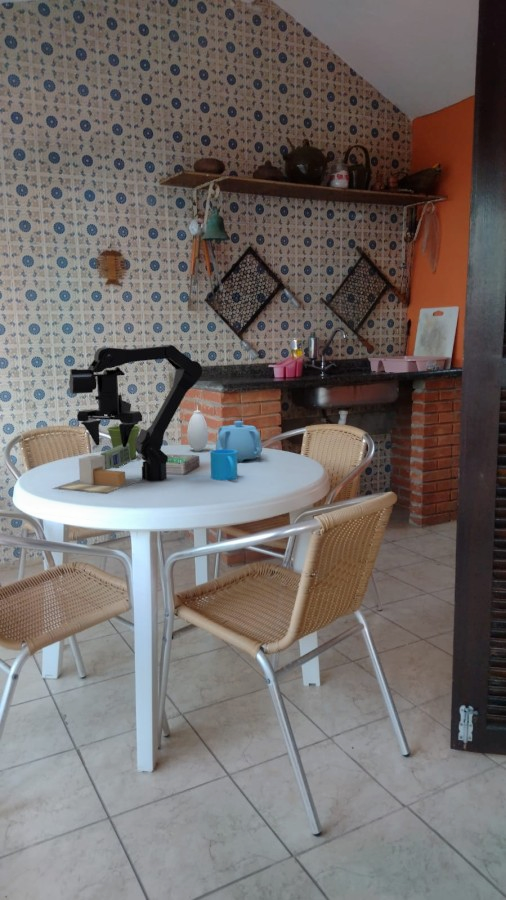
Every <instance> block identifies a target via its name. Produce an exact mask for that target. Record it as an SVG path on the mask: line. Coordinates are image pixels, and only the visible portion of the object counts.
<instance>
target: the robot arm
mask: <svg viewBox="0 0 506 900" xmlns="http://www.w3.org/2000/svg"><path fill="white" fill-rule="evenodd" d="M93 358H94V359H93V361H92V362H91V364H90V365H89V366H88V367H87V369H85V368H84V369H80V368H79V369H78V368H77V369H76V368H71V369H70V370H69V371H70V373H69V380H68V386H69V392H70V393H71V395H75V394H92V393H93V391H94V390H97V395H95V397H94V399H95V401H97V400H98V403H97V404H98V409H84V410H78V413H77V415H76V419H77V422H80V424H81V425H83V426H84V428H85V429H86V431H87V432H88V433H89V435H90V437H91V439H92V440H93V443H94V444H95V446H100V440H101V439H100V424H101V422H102V420H113V421H114V420H115V421H116V420H117V421H120V423H119V424H118V426H119V427H120V434H121V441H122V445H123V447H126V445H127V442H128V439H129V436H130V433H131V430H132V428H133V427H134V425H135V426H137V425H138V424H139V422H142V421H143V414H142V413H141V411H139V410H138V411H137V410H136V411H134V410H131V409H132V403H130V402H128V401H125V400H123V397H122V394H119V383H118V382H119V379H118V378H119V377H118V376H121V377H122V376H125V374H126V373H125V372H124V371H122V369H121V368H120V366H122V365H125V364H128V363H133V362H144V361H153V360H166V361H167V362H168V363H169V364H170V365H171V366H172V368H174V369H175V373H174V378H173V385H172V387H171V388H170V390H169V392H168V394H167V396H166V397H165V399H164V402H163V403H162V405H161V407H160V409H159V411H158V412H157V414H156V415H155V417H154V420H153V422H152V423H151V425H150V426H149V427H148V428H147V429H144V428H140V430H139V434H138V437H137V438H136V439H135V441H137V442H136V444H135V449H136V454H138V455H139V456H141V458H142V460H143V461H142V466H141V479H142V480H145V481H148V482H163V481H165V480H167V462H168V459H169V457H168V455H167V454H165V453H164V452H163V451H162V446H163V442H164V437H165V436H164V435H165V433H166V430H167V429H168V427H169V426H170V424H171V422H172V420H173V418H174V416H175V414H176V413H177V411H178V409H179V407H180V405H181V404H182V402H183V399H184V397H185V396H186V394H187V393H188V391H189V390H191V389H192V388H193V387H194V386H195V384H197V383H198V381H199V380H200V378H201V377H202V376H203V372H204V371H203V366H202V365H201V364H200V362H198V361H196V360H192V359H191V358H190V357H188V356H187V355H186V354H184V353H183V352H181V351H180V350H179V349H177V347H176V346H175V345H172V344H164V345H161V346H160V345H159V346H149V347H147V346H146V347H137V348H117V347H108V346H107V347H106V346H105V347H99V348H98V349H96V350H95V353H94V356H93ZM112 368H114V369H112Z"/></svg>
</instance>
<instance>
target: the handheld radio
mask: <svg viewBox="0 0 506 900" xmlns="http://www.w3.org/2000/svg"><path fill="white" fill-rule="evenodd" d="M100 455H105V470H110V469H117V467H118V468H120V467H122V466H124V465H126V464H128V463H130V462H131V460H132V459H130V447H129V443H127V445H126V447H123V445H122V444H121V445H119V446H117V447H114V448H113V447H112V448H110V449H108V450H105V451H103V452H100ZM129 461H130V462H129ZM127 462H128V463H127ZM125 463H126V464H125ZM123 464H124V465H123ZM121 465H122V466H121ZM119 466H120V467H119Z"/></svg>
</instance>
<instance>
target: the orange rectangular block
mask: <svg viewBox="0 0 506 900" xmlns="http://www.w3.org/2000/svg"><path fill="white" fill-rule="evenodd" d="M93 479H94V484H102V485H113V486H120V485H123V484H125V479H126V471H123V470H122V471H121V470H120V471H119V470H110V469H106V470H99V469H93Z"/></svg>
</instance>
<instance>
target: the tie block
mask: <svg viewBox="0 0 506 900" xmlns="http://www.w3.org/2000/svg"><path fill="white" fill-rule="evenodd" d="M78 467H79V479H80V483H81V484H94V479H93V469H99V470H105V455H101V454H91V455H87V456H84V457H80V458H78Z"/></svg>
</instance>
